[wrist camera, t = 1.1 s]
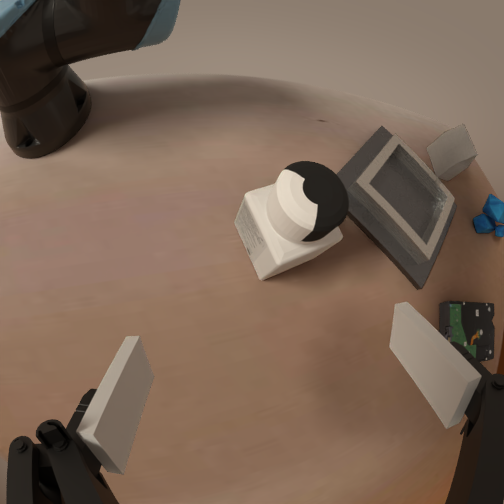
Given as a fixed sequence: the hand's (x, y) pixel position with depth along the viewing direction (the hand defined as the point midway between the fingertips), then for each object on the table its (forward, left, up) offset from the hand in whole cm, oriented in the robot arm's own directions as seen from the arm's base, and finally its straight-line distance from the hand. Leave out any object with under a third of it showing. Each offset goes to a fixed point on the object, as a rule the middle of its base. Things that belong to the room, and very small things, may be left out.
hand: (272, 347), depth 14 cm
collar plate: (+6, +32, -18) cm, 38 cm away
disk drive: (+30, +24, -19) cm, 43 cm away
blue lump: (+24, +46, -18) cm, 55 cm away
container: (-4, +12, -18) cm, 22 cm away
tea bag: (+9, +48, -18) cm, 53 cm away
